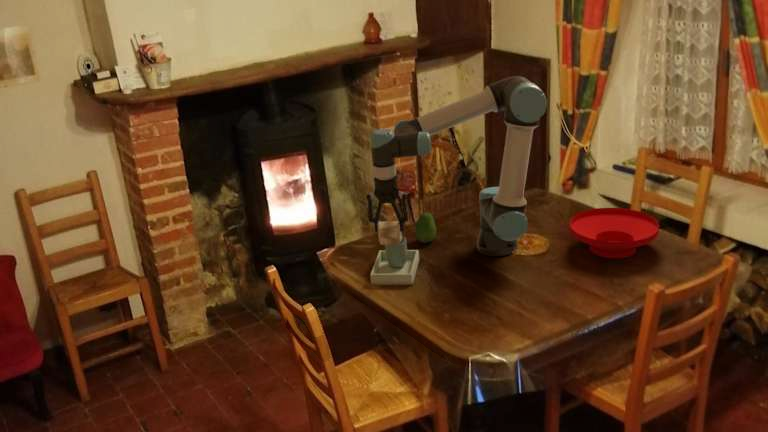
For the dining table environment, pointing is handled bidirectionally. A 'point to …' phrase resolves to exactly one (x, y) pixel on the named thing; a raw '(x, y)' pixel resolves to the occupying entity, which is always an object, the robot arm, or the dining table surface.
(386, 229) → the beech block
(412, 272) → the tray
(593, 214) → the bowl
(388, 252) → the cup
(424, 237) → the avocado
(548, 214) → the dining table surface
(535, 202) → the dining table surface
